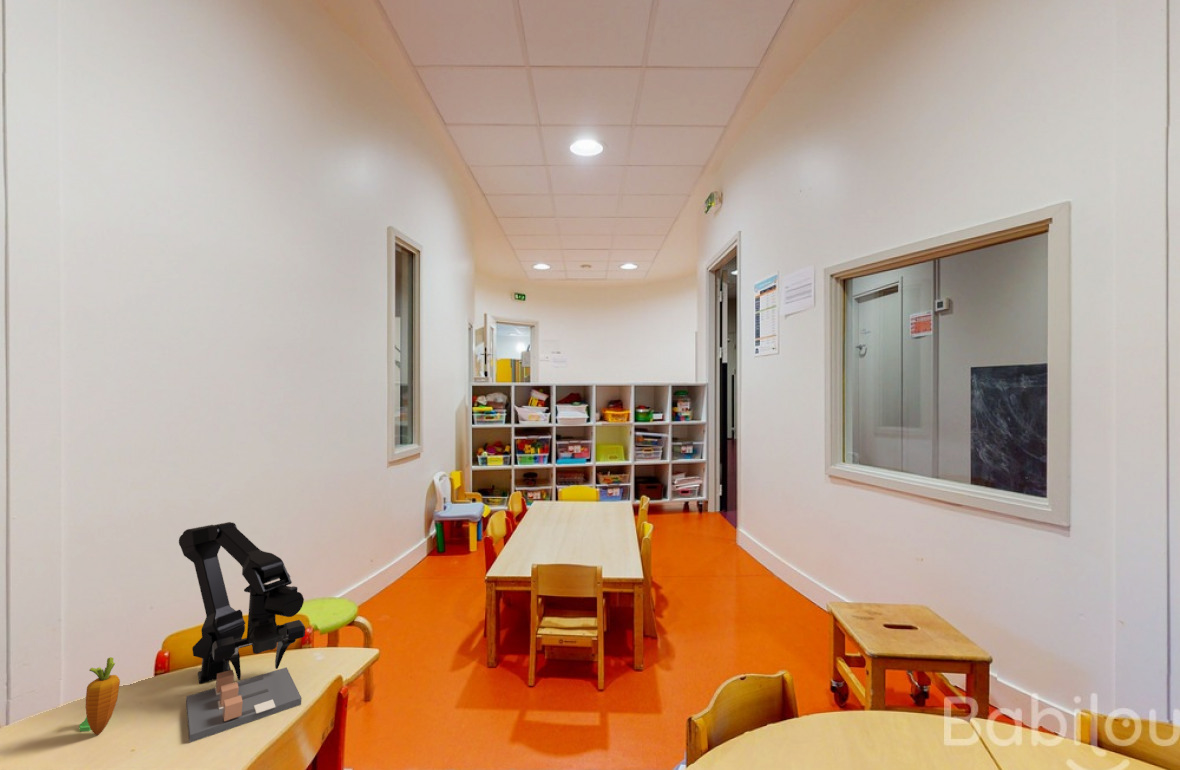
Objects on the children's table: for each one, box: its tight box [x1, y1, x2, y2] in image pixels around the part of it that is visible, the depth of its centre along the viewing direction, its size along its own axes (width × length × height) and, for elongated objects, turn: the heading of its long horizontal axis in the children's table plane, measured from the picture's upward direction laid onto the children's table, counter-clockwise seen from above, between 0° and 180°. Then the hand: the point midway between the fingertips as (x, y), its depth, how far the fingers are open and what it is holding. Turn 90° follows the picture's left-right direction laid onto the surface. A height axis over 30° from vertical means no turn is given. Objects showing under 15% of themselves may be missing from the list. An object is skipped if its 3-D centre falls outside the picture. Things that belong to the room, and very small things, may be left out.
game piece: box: [78, 716, 92, 732], centre depth 99 cm, size 4×4×6 cm
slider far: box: [215, 669, 235, 692], centre depth 111 cm, size 3×3×3 cm
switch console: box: [185, 667, 302, 743], centre depth 108 cm, size 18×20×2 cm
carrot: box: [85, 657, 121, 736], centre depth 97 cm, size 5×5×15 cm
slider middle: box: [220, 681, 239, 706], centre depth 106 cm, size 3×3×3 cm
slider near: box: [223, 695, 243, 721], centre depth 101 cm, size 3×3×3 cm
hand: (258, 673), depth 116 cm, fingers open, 7 cm apart
